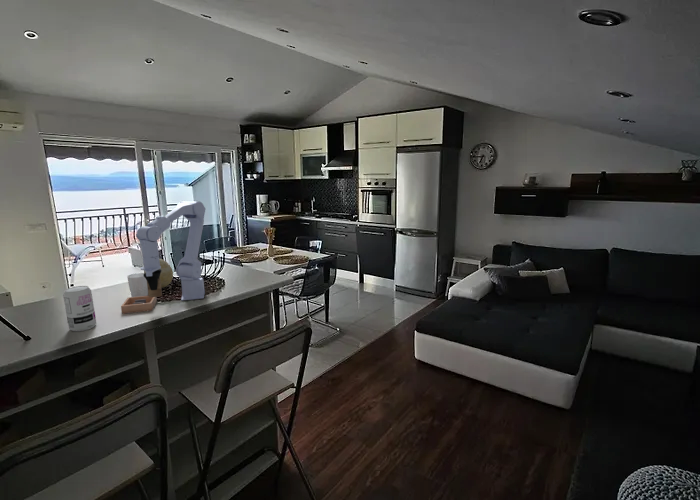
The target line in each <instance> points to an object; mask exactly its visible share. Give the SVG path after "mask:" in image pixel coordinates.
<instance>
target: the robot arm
mask: <svg viewBox="0 0 700 500" xmlns="http://www.w3.org/2000/svg"><path fill="white" fill-rule="evenodd" d="M205 213H206V206H205V205H204V203H203V202H201V201H200V200H199V201H197V200H196V201H190V200H189V201H188V200H187V201H186V200H181V201H180V202H178V203H177V204H176V206H175V207H174V208H173V209H172V210H170V212H168V213H167V214H165V215H157V216H155V219H154V220H152V221H150V222H148V223H147V225H145V226H144V225H143V226H140V227H139V228H138V229H137V231H136V234H135V237H136V238H137V240H138V241H139V244H140V248H141V249H140V250H141V254H142V261H143V262H142V263H143V266H142V267H141V266H140V271H143V273H144V271H145V272H146V273H144V274H143V275H144V277H145V278H146V280H147V281H148V284H149V286H150V289H151V290H157V287H158V279H159V277H160V273H161V271H162V270H161V269H160V268H161V266H160V261H159V259H160V254H159V245H158V240H159V239H160V237H161V235H162V234H163V233H164V232H165V231H167V230H168V229H169V228H171V225H172V223H174V221H176V220H177V219H179V218H180V217H184V218H185V219H186V220H188V221H189V230H188V235H187V241H186V247H185V252H184V255H183V257H182V258H181V259H179V261H178V263H177V264H178V265H177V266H176V269H175V274H176V276H177V277H178V278H179V280H180V283H181V284H180V285H181V292H182V293H181V298H180V300H181V301H190V300H191V301H192V300H199V299H204V297H205V294H206V292H205V291H206V289H205V282H204V278H203V277H201V276H202V264H203V263H202V262H201V261H200V260H199V259H198V256H199V251H200V245H201V239H202V234H203V228H204V224H205V223H204V222H205Z"/></svg>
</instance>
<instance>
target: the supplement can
mask: <svg viewBox="0 0 700 500" xmlns="http://www.w3.org/2000/svg"><path fill="white" fill-rule="evenodd" d="M62 297H63V303H64V308H65V309H64V310H65V314H66V319H67V324H68V325H67V326H68V330H70V331H71V332H84V331H88V330H90V329H93V328H94V327H95V326H96V325H97V318H96V317H97V316H96V311H95V305H94V299H93V293H92V289H91V288H90V287H89V286H88V285H78V286H72V287H68V288H66V289H64V292H63V295H62Z"/></svg>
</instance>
